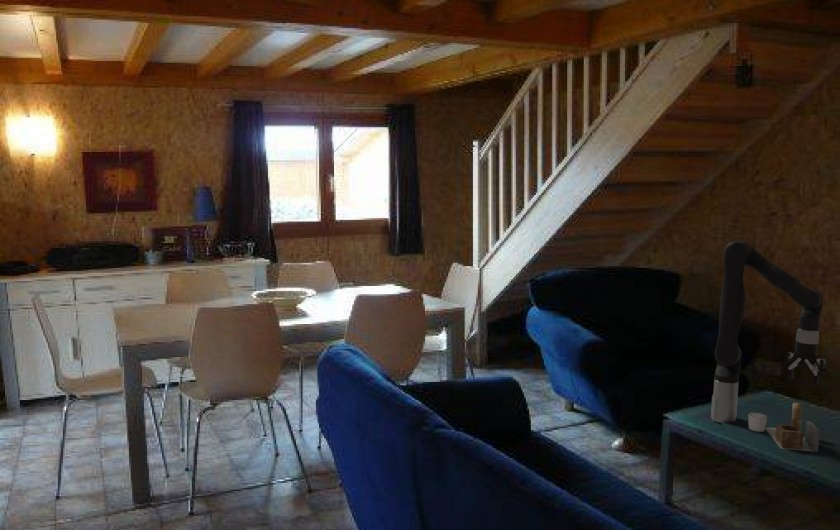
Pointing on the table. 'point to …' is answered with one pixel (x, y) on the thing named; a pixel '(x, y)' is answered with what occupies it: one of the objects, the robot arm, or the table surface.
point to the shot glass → (757, 421)
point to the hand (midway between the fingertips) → (803, 381)
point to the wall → (812, 436)
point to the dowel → (796, 414)
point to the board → (804, 447)
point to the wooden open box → (789, 436)
